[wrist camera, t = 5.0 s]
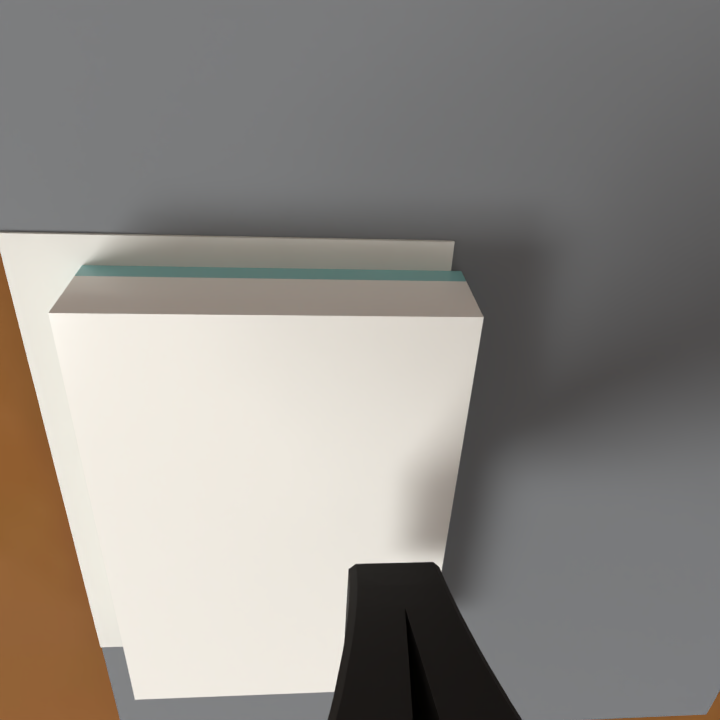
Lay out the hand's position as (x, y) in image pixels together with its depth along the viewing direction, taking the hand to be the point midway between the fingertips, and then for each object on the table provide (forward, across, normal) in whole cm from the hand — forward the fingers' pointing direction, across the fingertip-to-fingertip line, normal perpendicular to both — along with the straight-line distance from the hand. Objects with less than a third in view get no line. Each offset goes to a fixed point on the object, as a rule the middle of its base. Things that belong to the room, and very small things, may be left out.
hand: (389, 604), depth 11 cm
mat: (+3, -2, 0) cm, 4 cm away
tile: (+2, -1, 0) cm, 2 cm away
